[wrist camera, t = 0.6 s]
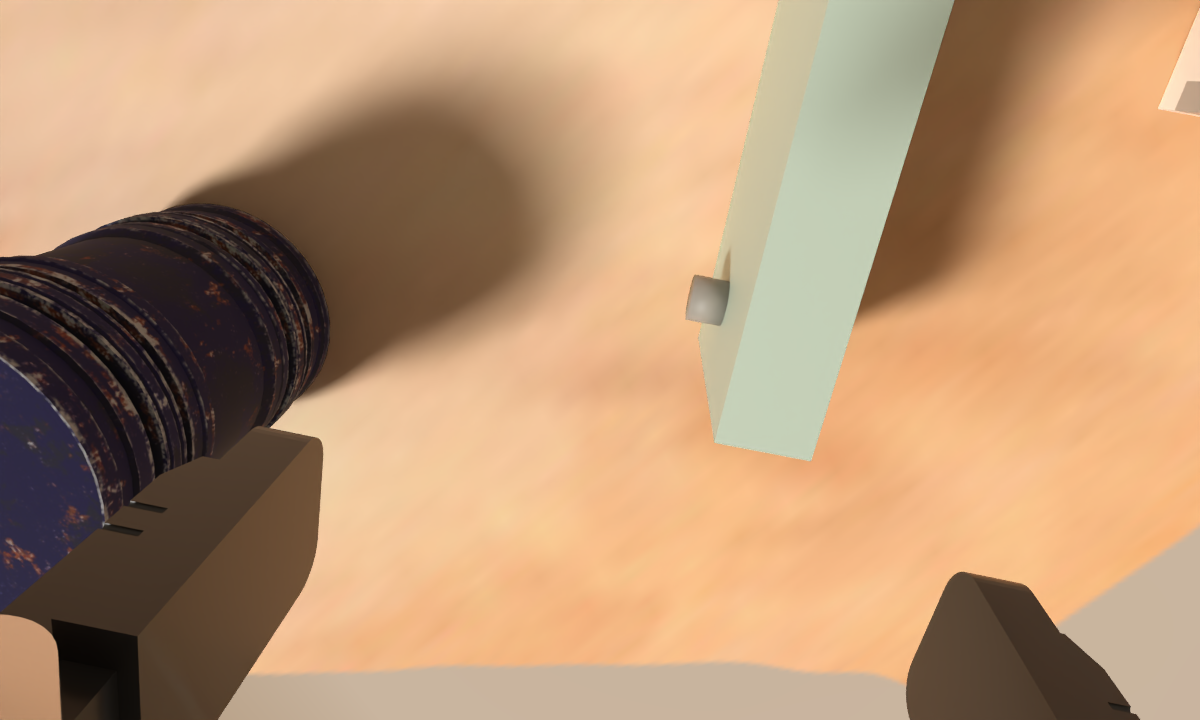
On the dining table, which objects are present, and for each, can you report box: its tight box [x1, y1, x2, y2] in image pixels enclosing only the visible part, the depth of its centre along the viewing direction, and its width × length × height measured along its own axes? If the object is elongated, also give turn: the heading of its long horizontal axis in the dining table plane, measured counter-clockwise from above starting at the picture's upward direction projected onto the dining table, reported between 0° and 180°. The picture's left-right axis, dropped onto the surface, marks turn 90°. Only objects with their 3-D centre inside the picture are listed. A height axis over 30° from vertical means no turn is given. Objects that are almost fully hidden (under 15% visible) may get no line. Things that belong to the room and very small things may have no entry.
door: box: [686, 0, 954, 461], centre depth 25 cm, size 4×20×10 cm, turn 170°
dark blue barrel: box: [0, 204, 330, 612], centre depth 27 cm, size 10×10×15 cm
